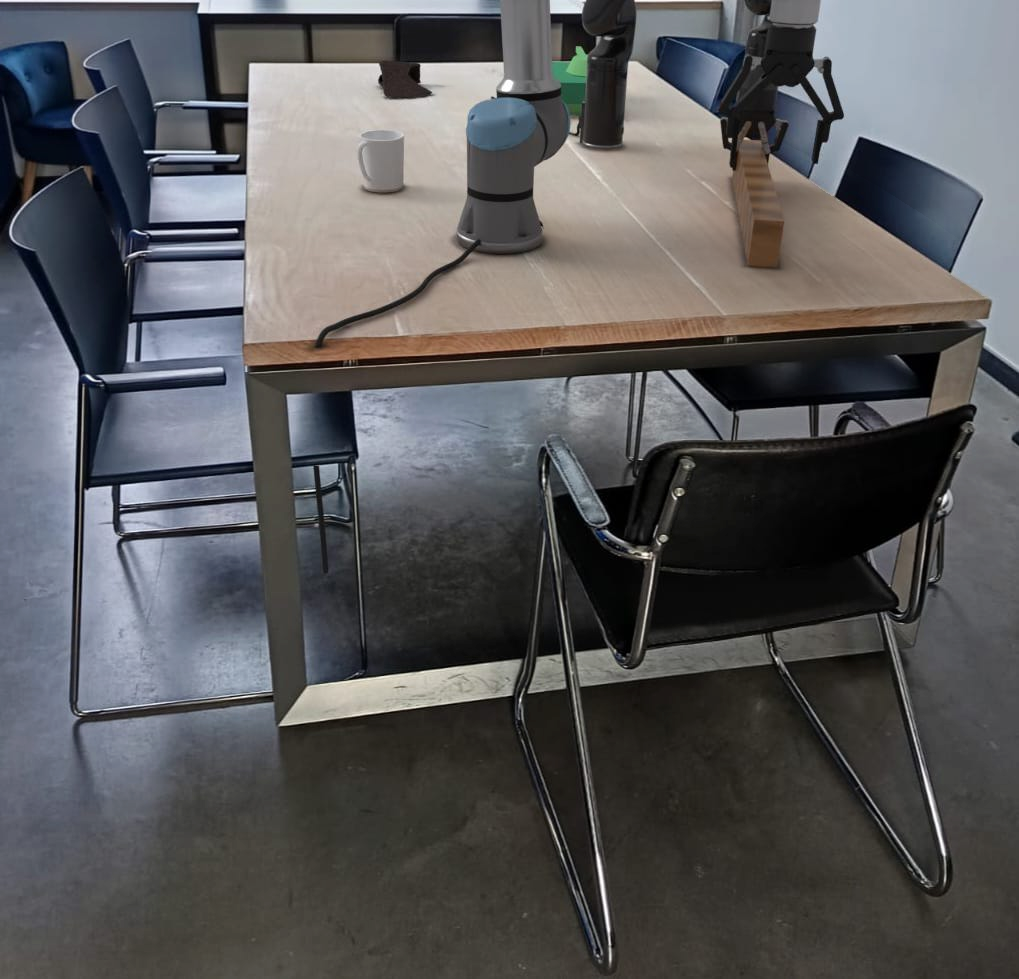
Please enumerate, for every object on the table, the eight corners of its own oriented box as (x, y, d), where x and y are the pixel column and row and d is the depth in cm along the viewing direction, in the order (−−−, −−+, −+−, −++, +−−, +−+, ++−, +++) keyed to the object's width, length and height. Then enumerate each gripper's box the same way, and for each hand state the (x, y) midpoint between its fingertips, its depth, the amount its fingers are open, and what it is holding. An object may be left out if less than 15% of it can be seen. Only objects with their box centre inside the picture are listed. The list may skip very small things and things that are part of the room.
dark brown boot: (443, 87, 294) (392, 77, 287) (436, 115, 299) (385, 106, 292) (421, 62, 307) (371, 52, 300) (414, 89, 311) (365, 80, 304)
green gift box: (609, 43, 301) (626, 67, 271) (606, 89, 307) (622, 119, 277) (545, 41, 300) (555, 66, 270) (543, 88, 306) (553, 117, 276)
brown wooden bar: (777, 267, 187) (784, 221, 182) (747, 266, 187) (754, 219, 183) (755, 179, 233) (761, 140, 229) (731, 178, 233) (736, 139, 229)
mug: (383, 178, 227) (381, 127, 222) (414, 186, 223) (413, 135, 217) (344, 189, 220) (341, 137, 215) (376, 198, 215) (373, 145, 210)
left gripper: (869, 23, 175) (846, 157, 186) (712, 17, 177) (698, 150, 188) (877, 31, 168) (852, 169, 179) (713, 24, 171) (699, 161, 182)
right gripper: (794, 82, 220) (781, 167, 228) (721, 79, 221) (712, 164, 230) (797, 90, 213) (784, 177, 222) (723, 86, 215) (713, 173, 223)
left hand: (773, 160), depth 184 cm, fingers open, 13 cm apart
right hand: (747, 170), depth 226 cm, fingers closed on brown wooden bar, 5 cm apart
